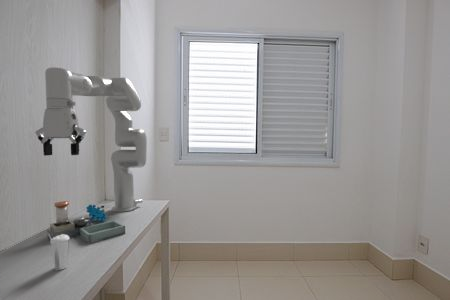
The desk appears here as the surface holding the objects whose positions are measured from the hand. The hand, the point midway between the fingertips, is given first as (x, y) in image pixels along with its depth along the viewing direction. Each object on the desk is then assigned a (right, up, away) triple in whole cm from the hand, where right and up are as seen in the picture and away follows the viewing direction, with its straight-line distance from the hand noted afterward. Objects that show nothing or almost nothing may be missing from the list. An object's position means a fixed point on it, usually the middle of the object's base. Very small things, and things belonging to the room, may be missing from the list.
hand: (61, 155), depth 85 cm
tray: (+10, -31, +9) cm, 34 cm away
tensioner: (-3, -31, +10) cm, 33 cm away
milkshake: (+10, -32, -15) cm, 37 cm away
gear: (-1, -31, +27) cm, 41 cm away
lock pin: (-5, -28, +8) cm, 29 cm away
